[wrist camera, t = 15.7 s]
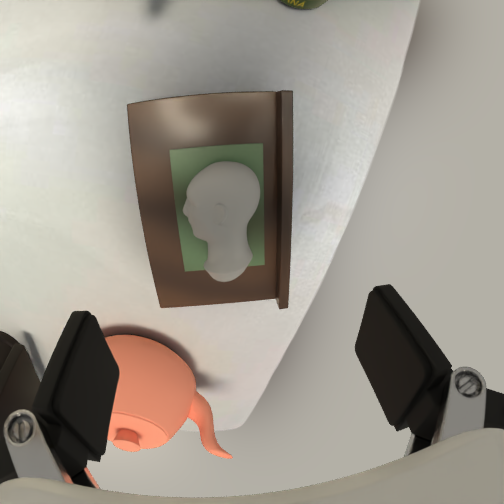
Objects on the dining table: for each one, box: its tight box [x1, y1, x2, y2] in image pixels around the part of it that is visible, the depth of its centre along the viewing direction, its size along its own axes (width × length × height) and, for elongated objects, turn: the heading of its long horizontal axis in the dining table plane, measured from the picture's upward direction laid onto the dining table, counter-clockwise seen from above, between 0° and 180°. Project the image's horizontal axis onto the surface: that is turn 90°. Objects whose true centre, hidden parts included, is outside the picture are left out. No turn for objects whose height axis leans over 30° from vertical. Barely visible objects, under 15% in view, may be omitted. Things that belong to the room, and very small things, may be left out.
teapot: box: [105, 335, 232, 458], centre depth 30 cm, size 22×16×12 cm
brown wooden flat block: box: [127, 90, 293, 309], centre depth 23 cm, size 17×11×6 cm, turn 1°
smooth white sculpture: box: [183, 161, 260, 282], centre depth 20 cm, size 4×8×5 cm
